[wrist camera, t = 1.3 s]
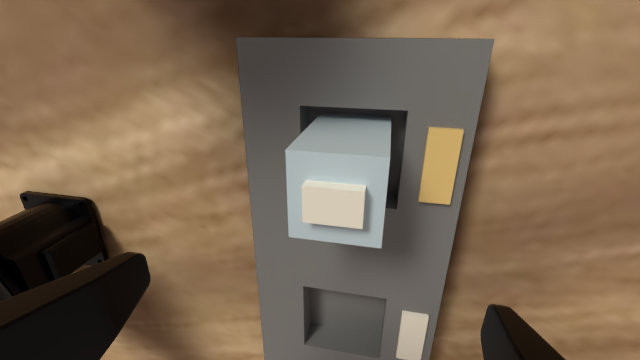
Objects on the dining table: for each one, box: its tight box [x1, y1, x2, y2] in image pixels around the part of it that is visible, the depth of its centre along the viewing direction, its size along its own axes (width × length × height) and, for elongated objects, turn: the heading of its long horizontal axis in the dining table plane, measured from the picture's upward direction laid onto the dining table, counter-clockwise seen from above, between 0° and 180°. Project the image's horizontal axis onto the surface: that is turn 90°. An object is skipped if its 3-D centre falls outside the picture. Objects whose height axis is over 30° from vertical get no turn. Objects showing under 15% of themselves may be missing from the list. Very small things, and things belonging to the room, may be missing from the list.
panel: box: [236, 37, 494, 360], centre depth 21 cm, size 12×24×3 cm, turn 179°
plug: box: [285, 113, 391, 248], centre depth 16 cm, size 4×4×8 cm
